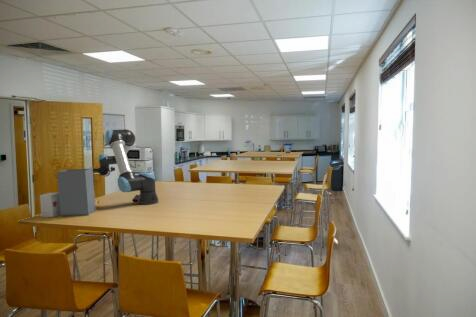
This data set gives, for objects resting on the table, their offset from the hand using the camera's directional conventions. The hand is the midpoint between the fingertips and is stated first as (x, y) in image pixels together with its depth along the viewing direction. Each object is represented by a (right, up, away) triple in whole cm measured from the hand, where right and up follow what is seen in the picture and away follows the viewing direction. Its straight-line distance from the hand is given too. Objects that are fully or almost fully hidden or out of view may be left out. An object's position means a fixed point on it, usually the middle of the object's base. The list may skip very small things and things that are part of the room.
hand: (100, 168), depth 256 cm
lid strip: (-3, -28, -8) cm, 29 cm away
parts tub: (-2, -30, -31) cm, 43 cm away
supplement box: (-19, -31, -34) cm, 49 cm away
